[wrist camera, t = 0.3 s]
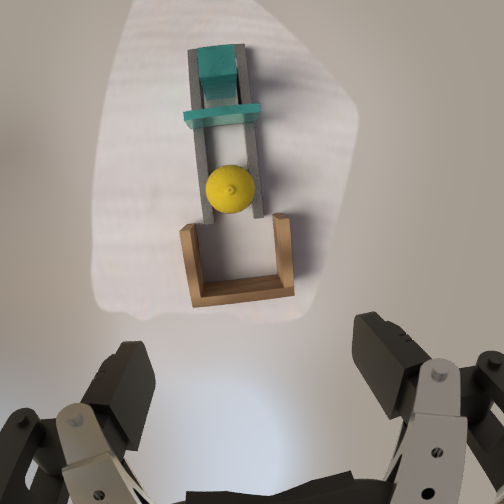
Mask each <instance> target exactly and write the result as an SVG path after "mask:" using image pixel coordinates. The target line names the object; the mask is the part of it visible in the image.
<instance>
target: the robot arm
mask: <svg viewBox="0 0 504 504" xmlns="http://www.w3.org/2000/svg"><path fill="white" fill-rule="evenodd" d="M352 356H353V360H354V363H355V365H356V366H357V368H358V369H359V371H360V372H361V374H362V376H363V377H364V379H365V381H366V382H367V384H368V385H369V387H370V389H371V390H372V392H373V394H374V395H375V397H376V398H377V400H378V402H379V403H380V405H381V406H382V408H383V410H384V411H385V413H386V415H387V416H388V418H389V419H390V420H391V419H393V418H396V417H399V416H401V417H402V419H403V422H402V425H401V429H400V432H399V436H398V439H397V442H396V446H395V449H394V452H393V456H392V459H391V462H390V465H389V467H388V470H387V472H386V474H385V477H384V478H383V481H381V480H375V479H354V478H353V475H352V473H351V471H347V472H344V473H340V474H336V475H332V476H328V477H324V478H320V479H315V480H311V481H309V482H307V483H304V484H302V485H299V486H297V487H294V488H292V489H289V490H287V491H284V492H281V493H278V494H275V495H272V496H261V495H251V494H242V493H235V492H229V491H218V492H217V491H216V492H215V491H214V492H194V491H186V501H181V502H177V503H174V504H458V500H459V495H460V490H461V484H462V478H463V471H464V463H465V453H466V443H467V444H468V446H469V447H470V449H471V451H472V452H473V454H474V455H475V457H476V458H477V460H478V461H479V463H480V465H481V466H482V468H483V470H484V471H485V473H486V475H487V476H488V478H489V480H490V481H491V483H492V485H493V486H494V488H495V490H496V492H497V495H496V501H495V502H496V503H495V504H504V426H503V425H502V424H501V423H500V421H499V420H498V419H497V418H496V416H495V415H494V414H493V413H492V411H491V410H490V409H491V407H492V405H493V404H494V402H495V403H496V404H497V406H498V407H499V408H500V409H501V410H502V412H503V413H504V354H502V353H500V352H497V351H486V352H483V353H482V354H480V356H479V357H478V360H477V363H476V365H475V366H471V367H465V368H458V367H457V366H456V365H455V364H454V363H453V362H451V361H448V360H446V359H439V358H438V359H432V358H431V357H430V356H429V355H428V354H427V353H426V352H425V351H423V349H422V348H421V347H420V346H419V345H418V344H417V343H416V342H415V341H414V340H412V338H411V337H410V336H409V335H408V334H407V335H406V332H405V331H404V330H403V329H402V328H401V327H400V326H398V325H396V324H394V323H392V322H390V321H384V320H383V319H382V318H381V317H380V316H379V315H378V314H377V313H376V312H369V313H364V314H359V315H356V316H355V318H354V328H353V341H352ZM155 382H156V381H155V374H154V371H153V368H152V365H151V363H150V360H149V357H148V354H147V351H146V348H145V345H144V344H143V342H142V341H126V342H122V343H121V345H120V347H119V348H118V350H117V352H116V354H112V355H111V356H109V357H108V358H107V359H106V360H105V361H104V362H103V363H102V365H101V366H100V368H99V370H98V372H97V373H96V375H95V377H94V379H93V380H92V382H91V384H90V386H89V388H88V389H87V391H86V393H85V395H84V396H83V398H82V400H81V402H80V403H74V404H70V405H68V406H66V407H65V408H63V409H62V410H61V411H60V412H59V413H58V415H57V417H56V418H53V419H42V420H40V418H39V417H38V415H37V414H36V413H35V411H34V410H32V409H30V408H22V409H18V410H16V411H15V412H13V413H12V414H11V415H10V417H9V418H8V420H7V421H6V423H5V425H4V427H3V428H2V430H1V432H0V504H67V503H68V499H69V495H70V497H71V500H72V502H73V504H155V503H154V502H153V501H152V499H151V498H150V497H149V495H148V494H147V492H146V491H145V489H144V488H143V486H142V485H141V483H140V482H139V480H138V479H137V477H136V475H135V474H134V472H133V471H132V469H131V467H130V466H129V464H128V462H127V460H126V459H125V458H124V454H125V451H126V450H130V451H138V447H139V443H140V439H141V436H142V432H143V428H144V425H145V421H146V417H147V414H148V410H149V407H150V403H151V400H152V397H153V393H154V390H155V384H156V383H155ZM32 459H33V460H34V461H35V462H36V463H37V464H38V465H39V466H38V469H37V472H36V474H35V477H34V479H33V482H32V485H31V487H30V490H28V488H27V487H26V484H25V476H26V473H27V471H28V468H29V466H30V464H31V461H32Z"/></svg>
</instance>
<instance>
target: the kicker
mask: <svg viewBox="0 0 504 504" xmlns="http://www.w3.org/2000/svg"><path fill="white" fill-rule="evenodd" d="M197 51H198V66H199V78H200V82H201V85H202V88H203V93H204V105H205V109H199V110H192V111H186V112H183V114H184V121H185V123H186V124H187V125H188V126H189V128H190V129H194V128H201V127H209V126H216V125H225V124H234V123H245V122H256V121H257V119H258V117H259V115H260V112H261V110H260V103H254V104H242V105H238V97H237V88H236V81H237V69H236V60H235V51H234V44H229V45H218V46H210V47H202V48H197Z"/></svg>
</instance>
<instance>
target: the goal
mask: <svg viewBox="0 0 504 504" xmlns="http://www.w3.org/2000/svg"><path fill="white" fill-rule="evenodd" d="M272 215H273V226H274V237H275V249H276V261H277V273H278V275H270V276H262V277H254V278H246V279H237V280H229V281H220V282H211V283H204V278H203V272H202V266H201V259H200V253H199V246H198V240H197V233H196V225H195V224H187V225H185V226H184V227H183V228H182V229H181V230H180V231H179V232H180V238H181V245H182V251H183V257H184V263H185V269H186V274H187V280H188V285H189V291H190V296H191V301H192V306H193V308H196V307H206V306H215V305H225V304H233V303H242V302H250V301H258V300H266V299H273V298H281V297H288V296H295V295H294V277H293V262H292V247H291V233H290V221H289V218H288V217H286V216H285V215H283V214H282V213H281V214H272Z"/></svg>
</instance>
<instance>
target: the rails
mask: <svg viewBox="0 0 504 504" xmlns="http://www.w3.org/2000/svg"><path fill="white" fill-rule="evenodd" d="M234 51H235V58H236V62H237V71H238V80H239V89H240V98H241V105H242V104H252V102H251V93H250V85H249V76H248V68H247V60H246V52H245V44H234ZM188 66H189V81H190V95H191V108H192V110H199V109H202V100H201V88H200V78H199V66H198V51H197V49H191V50H188ZM243 126H244V135H245V144H246V154H247V163H248V172H249V174H250V175H251V177H252V179H253V181H254V185H255V194H254V197H253V200H252V210H253V218H254V219H256V218H264V214H263V204H262V194H261V184H260V175H259V165H258V156H257V147H256V137H255V128H254V122H245V123H243ZM193 131H194V141H195V151H196V161H197V170H198V179H199V188H200V196H201V204H202V212H203V220H204V225H206V224H214V214H213V206H212V205H211V204H210V202H209V201H208V198H207V196H206V183H207V180H208V178H209V172H208V162H207V153H206V143H205V133H204V127H201V128H194V129H193Z"/></svg>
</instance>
